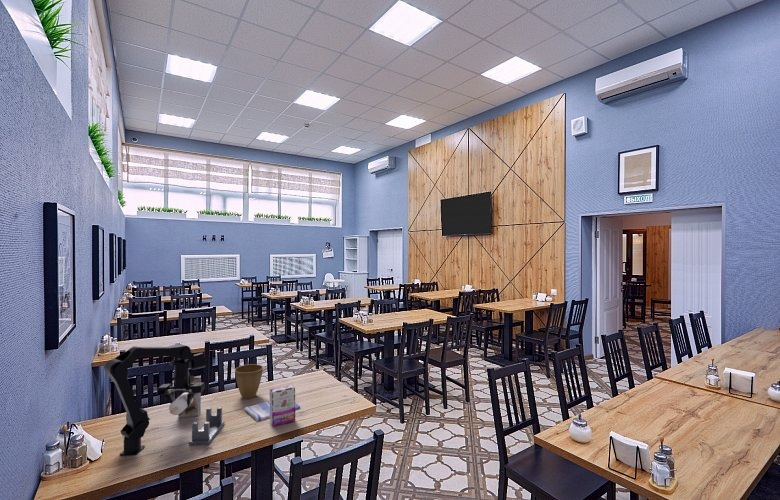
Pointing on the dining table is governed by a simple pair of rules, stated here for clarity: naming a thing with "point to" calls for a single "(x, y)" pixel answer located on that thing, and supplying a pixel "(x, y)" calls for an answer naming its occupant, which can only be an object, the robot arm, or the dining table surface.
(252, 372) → the plant pot
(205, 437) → the roll holder
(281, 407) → the candy bar box
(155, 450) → the dining table surface
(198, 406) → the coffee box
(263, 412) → the dish towel
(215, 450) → the dining table surface
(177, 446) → the dining table surface
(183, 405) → the paper roll
